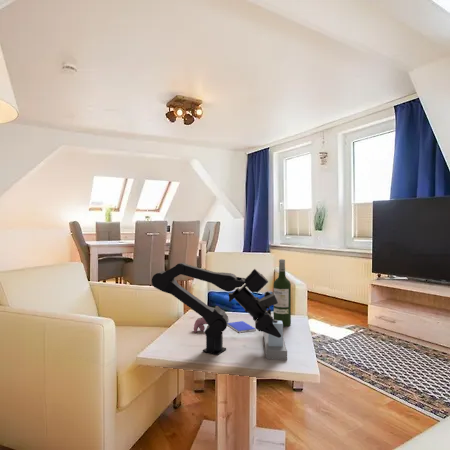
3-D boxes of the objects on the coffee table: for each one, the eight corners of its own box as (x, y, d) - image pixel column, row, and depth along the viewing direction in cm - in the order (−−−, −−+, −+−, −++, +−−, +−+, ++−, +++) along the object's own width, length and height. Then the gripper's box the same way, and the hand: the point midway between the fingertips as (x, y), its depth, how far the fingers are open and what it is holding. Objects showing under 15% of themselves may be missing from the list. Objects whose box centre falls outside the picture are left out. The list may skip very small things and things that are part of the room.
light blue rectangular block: (283, 352, 118) (282, 322, 118) (268, 351, 118) (268, 321, 118) (281, 348, 122) (281, 318, 122) (268, 347, 122) (268, 318, 122)
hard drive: (227, 322, 154) (239, 330, 143) (243, 320, 157) (256, 328, 146) (227, 326, 154) (239, 334, 143) (243, 324, 157) (256, 331, 146)
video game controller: (216, 334, 145) (217, 318, 148) (215, 332, 141) (216, 316, 144) (194, 333, 146) (195, 317, 149) (192, 332, 142) (194, 315, 145)
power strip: (287, 359, 113) (287, 349, 113) (266, 359, 114) (266, 348, 114) (279, 331, 144) (279, 323, 144) (263, 331, 145) (263, 322, 145)
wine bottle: (273, 326, 152) (273, 260, 152) (273, 321, 160) (273, 258, 160) (291, 327, 151) (291, 260, 151) (290, 322, 158) (290, 258, 159)
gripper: (265, 290, 111) (299, 324, 110) (263, 281, 130) (292, 310, 129) (241, 314, 111) (275, 348, 111) (242, 301, 130) (271, 331, 129)
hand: (279, 333), depth 120 cm, fingers open, 8 cm apart
